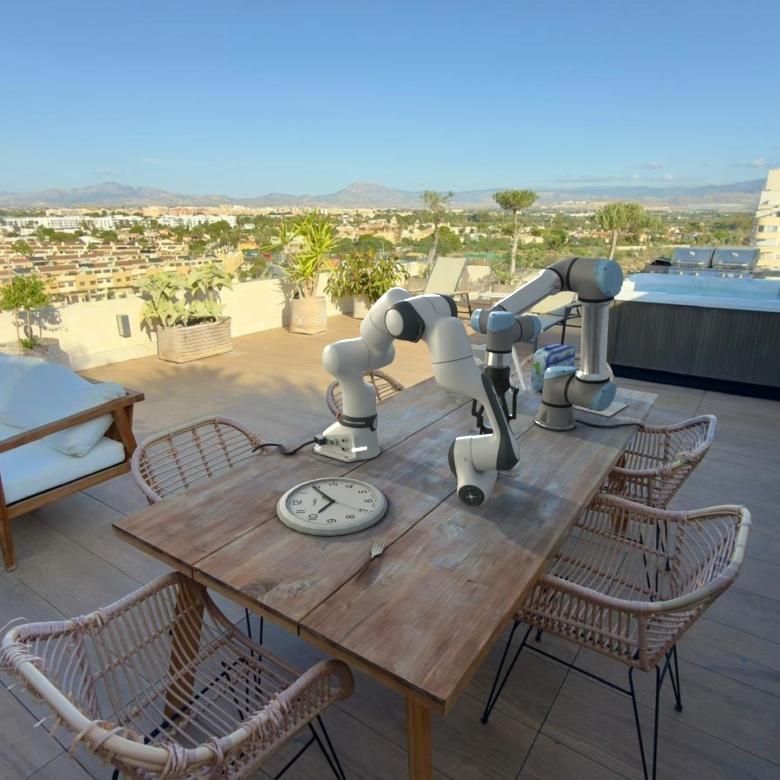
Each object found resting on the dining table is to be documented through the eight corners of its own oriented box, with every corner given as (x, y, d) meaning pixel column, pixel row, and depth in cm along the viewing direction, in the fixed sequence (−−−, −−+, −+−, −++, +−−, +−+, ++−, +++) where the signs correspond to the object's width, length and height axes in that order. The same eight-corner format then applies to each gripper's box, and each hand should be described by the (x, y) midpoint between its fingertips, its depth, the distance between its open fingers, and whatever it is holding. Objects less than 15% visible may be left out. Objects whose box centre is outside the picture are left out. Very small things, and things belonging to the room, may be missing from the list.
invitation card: (608, 416, 214) (573, 407, 224) (608, 416, 214) (573, 408, 224) (628, 404, 229) (594, 396, 238) (628, 405, 229) (594, 397, 238)
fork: (349, 582, 112) (349, 574, 111) (377, 542, 126) (377, 535, 125) (361, 585, 111) (361, 577, 110) (387, 544, 125) (387, 537, 125)
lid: (505, 430, 160) (505, 424, 159) (498, 436, 155) (499, 430, 154) (486, 426, 163) (486, 420, 162) (479, 432, 158) (479, 426, 157)
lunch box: (547, 396, 238) (552, 351, 232) (526, 391, 246) (531, 347, 239) (574, 385, 256) (579, 343, 250) (554, 380, 263) (559, 340, 257)
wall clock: (392, 527, 129) (268, 531, 127) (391, 533, 130) (269, 537, 127) (383, 473, 158) (282, 475, 155) (383, 478, 158) (282, 480, 156)
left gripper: (520, 467, 145) (526, 448, 157) (448, 455, 152) (459, 438, 164) (518, 487, 147) (524, 467, 159) (447, 475, 154) (458, 456, 166)
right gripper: (530, 364, 154) (523, 437, 161) (466, 359, 158) (461, 431, 165) (531, 370, 147) (523, 446, 154) (463, 366, 151) (459, 440, 158)
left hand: (490, 452), depth 162 cm, fingers closed on jar, 5 cm apart
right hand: (491, 438), depth 159 cm, fingers closed on lid, 6 cm apart
